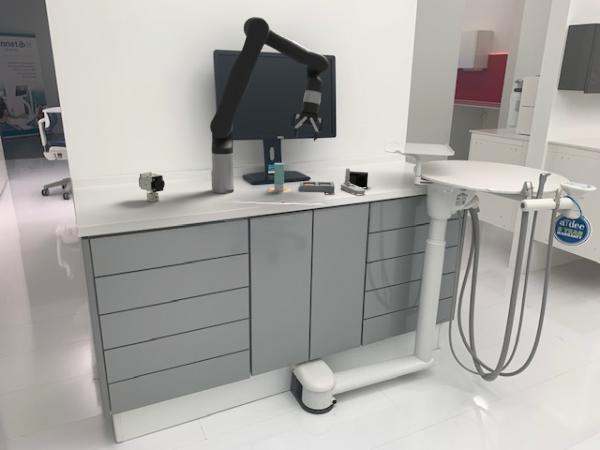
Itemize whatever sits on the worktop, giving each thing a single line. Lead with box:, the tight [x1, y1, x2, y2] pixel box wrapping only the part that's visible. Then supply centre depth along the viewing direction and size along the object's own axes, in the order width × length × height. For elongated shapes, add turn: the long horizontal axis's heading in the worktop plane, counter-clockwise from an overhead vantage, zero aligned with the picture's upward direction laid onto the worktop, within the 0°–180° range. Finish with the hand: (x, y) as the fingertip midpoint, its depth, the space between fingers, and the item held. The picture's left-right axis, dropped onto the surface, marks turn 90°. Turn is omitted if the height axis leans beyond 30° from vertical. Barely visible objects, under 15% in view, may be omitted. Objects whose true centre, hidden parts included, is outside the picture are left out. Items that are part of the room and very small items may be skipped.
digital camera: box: [349, 170, 369, 188], centre depth 228 cm, size 10×5×7 cm, turn 76°
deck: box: [266, 187, 291, 194], centre depth 215 cm, size 10×8×1 cm
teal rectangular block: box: [273, 162, 285, 191], centre depth 213 cm, size 4×4×12 cm
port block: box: [299, 180, 336, 194], centre depth 218 cm, size 16×9×4 cm, turn 89°
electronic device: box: [340, 168, 366, 195], centre depth 218 cm, size 5×10×15 cm
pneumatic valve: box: [138, 171, 166, 203], centre depth 194 cm, size 6×12×12 cm, turn 51°
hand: (305, 138), depth 215 cm, fingers open, 8 cm apart
